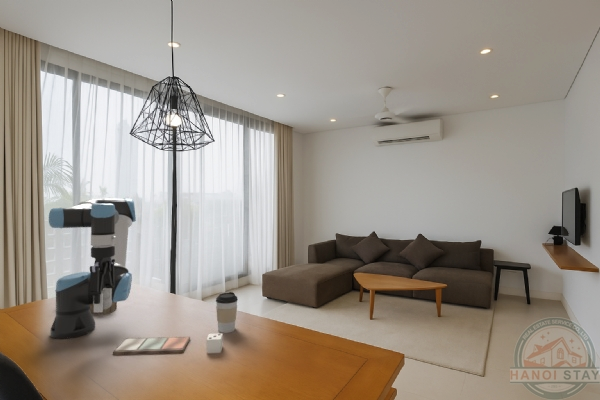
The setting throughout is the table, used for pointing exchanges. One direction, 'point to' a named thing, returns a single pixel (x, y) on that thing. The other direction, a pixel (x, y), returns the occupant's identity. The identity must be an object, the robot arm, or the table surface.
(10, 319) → the table surface
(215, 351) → the die
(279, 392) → the table surface
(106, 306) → the white lumpy piece
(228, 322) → the coffee cup
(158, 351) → the game board
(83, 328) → the robot arm
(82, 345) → the table surface
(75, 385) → the table surface
